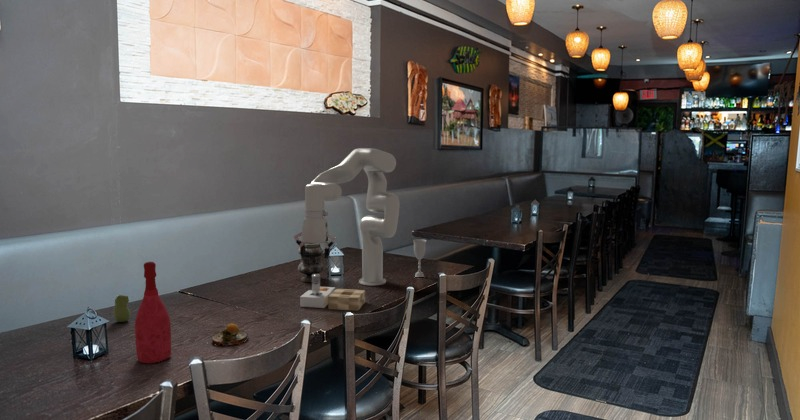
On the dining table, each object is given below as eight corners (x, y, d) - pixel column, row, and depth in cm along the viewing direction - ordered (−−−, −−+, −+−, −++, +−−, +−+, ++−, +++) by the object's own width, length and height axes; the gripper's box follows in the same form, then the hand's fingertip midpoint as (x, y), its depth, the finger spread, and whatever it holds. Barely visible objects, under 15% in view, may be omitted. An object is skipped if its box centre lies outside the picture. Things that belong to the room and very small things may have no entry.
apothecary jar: (328, 280, 265) (327, 243, 262) (304, 284, 258) (304, 245, 256) (316, 275, 275) (316, 239, 272) (294, 278, 268) (293, 241, 266)
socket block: (314, 294, 241) (314, 285, 241) (337, 295, 239) (337, 286, 239) (300, 306, 224) (300, 296, 223) (324, 307, 222) (324, 298, 221)
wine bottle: (143, 352, 175) (138, 258, 171) (176, 352, 175) (171, 258, 172) (131, 365, 165) (125, 266, 161) (165, 364, 166) (160, 265, 162)
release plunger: (320, 293, 238) (320, 287, 238) (328, 294, 238) (328, 287, 237) (317, 296, 235) (317, 289, 234) (325, 296, 234) (325, 289, 234)
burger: (234, 332, 194) (234, 311, 194) (255, 339, 187) (254, 318, 186) (203, 341, 185) (202, 319, 184) (224, 350, 178) (223, 327, 177)
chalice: (425, 279, 268) (425, 242, 266) (411, 278, 269) (411, 241, 267) (427, 275, 275) (427, 239, 273) (413, 274, 277) (414, 238, 274)
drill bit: (313, 302, 229) (313, 273, 228) (321, 302, 229) (321, 274, 227) (311, 304, 226) (310, 275, 225) (318, 305, 226) (318, 275, 224)
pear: (111, 322, 203) (109, 295, 202) (124, 318, 208) (122, 291, 206) (120, 325, 200) (119, 297, 199) (134, 320, 205) (132, 294, 204)
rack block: (337, 300, 232) (337, 288, 232) (365, 301, 230) (365, 290, 230) (328, 308, 220) (328, 296, 220) (358, 310, 218) (357, 298, 218)
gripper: (338, 214, 225) (338, 256, 227) (297, 213, 228) (297, 254, 230) (333, 216, 218) (333, 260, 220) (290, 215, 221) (291, 257, 223)
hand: (315, 257), depth 225 cm, fingers open, 9 cm apart
